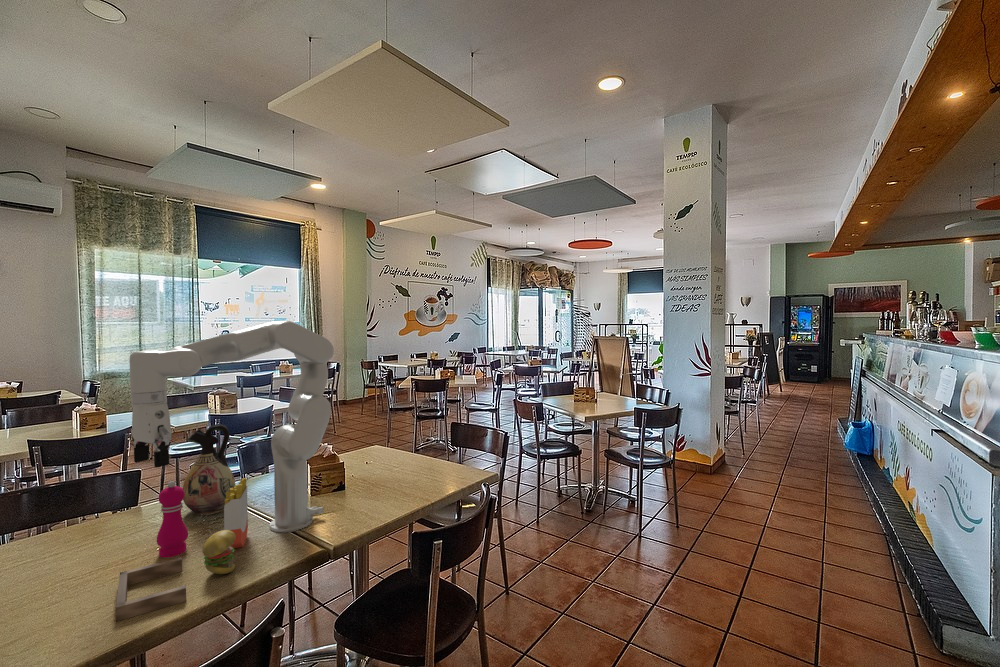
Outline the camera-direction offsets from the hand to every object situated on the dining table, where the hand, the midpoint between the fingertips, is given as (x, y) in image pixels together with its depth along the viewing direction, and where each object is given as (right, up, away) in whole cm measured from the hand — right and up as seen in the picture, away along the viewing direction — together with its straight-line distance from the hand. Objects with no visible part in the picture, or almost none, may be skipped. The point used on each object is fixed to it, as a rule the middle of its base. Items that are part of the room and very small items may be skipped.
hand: (151, 463), depth 123 cm
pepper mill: (0, -27, +8) cm, 28 cm away
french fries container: (+15, -27, +13) cm, 34 cm away
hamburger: (+20, -27, -3) cm, 34 cm away
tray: (+9, -27, -11) cm, 31 cm away
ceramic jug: (-7, -27, +37) cm, 46 cm away
